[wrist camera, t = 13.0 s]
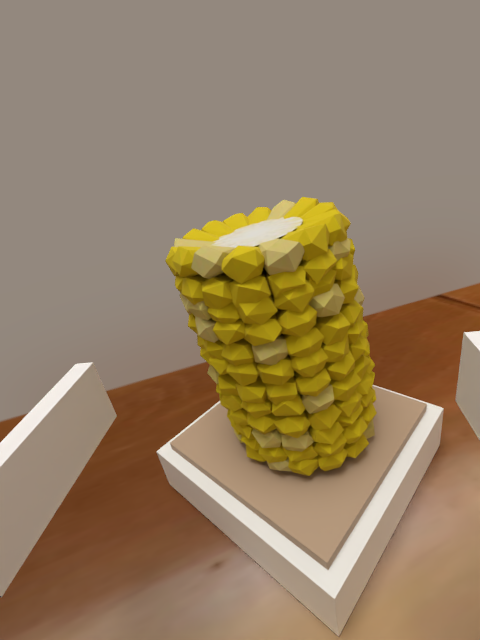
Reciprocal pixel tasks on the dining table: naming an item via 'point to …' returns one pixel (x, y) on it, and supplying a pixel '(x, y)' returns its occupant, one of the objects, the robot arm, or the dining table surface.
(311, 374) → the food
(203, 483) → the plinth
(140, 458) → the dining table surface
